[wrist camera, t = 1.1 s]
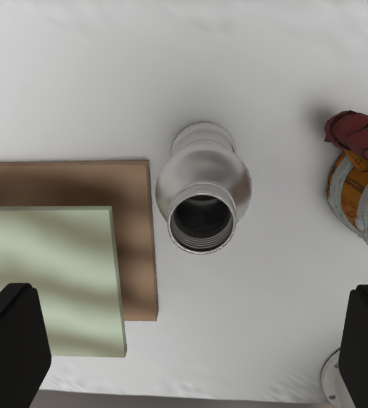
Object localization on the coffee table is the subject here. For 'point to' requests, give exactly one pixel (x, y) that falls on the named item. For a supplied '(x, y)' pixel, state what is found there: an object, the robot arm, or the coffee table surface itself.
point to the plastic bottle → (203, 189)
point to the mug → (350, 170)
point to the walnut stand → (81, 248)
